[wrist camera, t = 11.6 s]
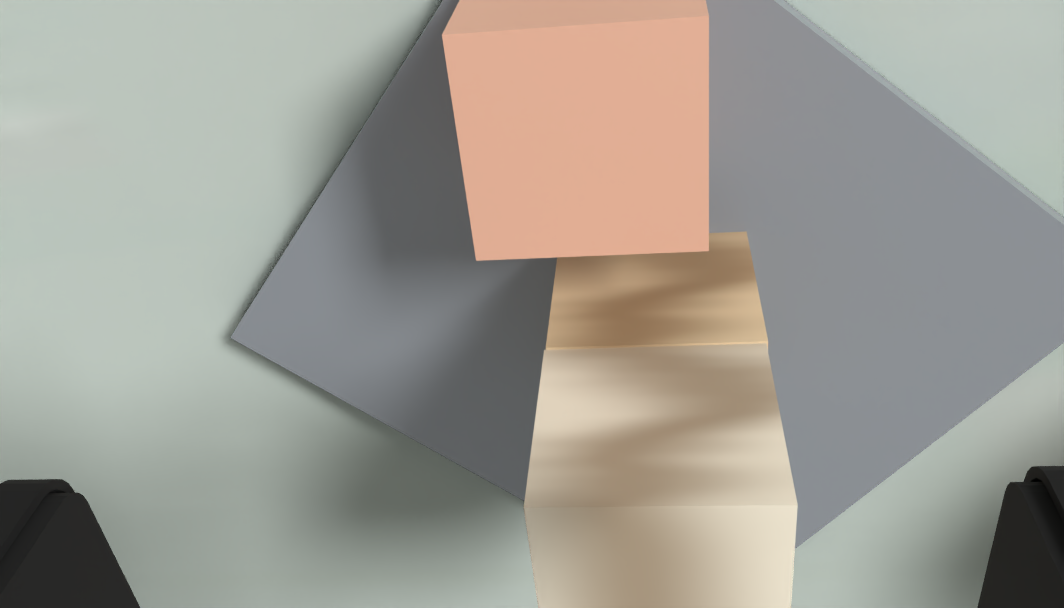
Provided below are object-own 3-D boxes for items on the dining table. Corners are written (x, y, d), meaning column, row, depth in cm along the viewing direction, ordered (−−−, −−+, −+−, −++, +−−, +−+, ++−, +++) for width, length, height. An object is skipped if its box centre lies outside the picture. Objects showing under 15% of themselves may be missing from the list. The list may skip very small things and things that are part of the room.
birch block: (766, 342, 22) (797, 504, 18) (760, 504, 24) (785, 677, 20) (544, 349, 22) (523, 507, 18) (562, 506, 25) (548, 674, 21)
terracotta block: (694, -52, 22) (709, 15, 18) (696, 151, 25) (708, 251, 20) (476, -34, 23) (441, 34, 18) (502, 162, 25) (476, 260, 21)
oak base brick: (746, 231, 26) (768, 341, 22) (742, 380, 28) (761, 503, 24) (559, 239, 26) (545, 347, 22) (573, 384, 29) (563, 504, 25)
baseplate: (1124, 264, 26) (1139, 283, 26) (715, 585, 35) (717, 608, 34) (554, -178, 22) (552, -172, 21) (241, 319, 30) (230, 337, 29)
